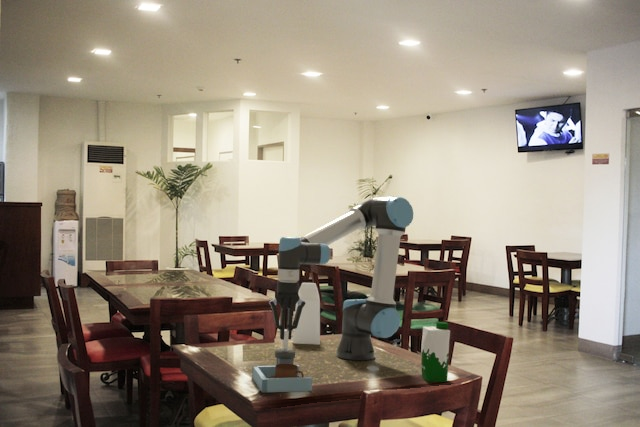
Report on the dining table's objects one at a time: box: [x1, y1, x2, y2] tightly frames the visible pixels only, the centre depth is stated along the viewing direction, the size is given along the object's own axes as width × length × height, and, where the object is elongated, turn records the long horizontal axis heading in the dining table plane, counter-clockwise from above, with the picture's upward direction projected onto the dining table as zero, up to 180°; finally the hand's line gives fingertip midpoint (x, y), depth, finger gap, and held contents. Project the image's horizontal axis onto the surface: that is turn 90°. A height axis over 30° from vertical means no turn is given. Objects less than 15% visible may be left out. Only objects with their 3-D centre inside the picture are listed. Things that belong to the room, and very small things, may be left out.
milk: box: [292, 282, 321, 345], centre depth 281 cm, size 12×12×26 cm
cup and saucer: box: [269, 363, 305, 378], centre depth 206 cm, size 12×12×6 cm
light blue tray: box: [251, 357, 313, 394], centre depth 210 cm, size 16×24×6 cm, turn 16°
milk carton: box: [420, 321, 451, 383], centre depth 222 cm, size 9×9×20 cm
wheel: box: [274, 348, 296, 359], centre depth 220 cm, size 7×7×6 cm
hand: (285, 348), depth 220 cm, fingers closed
